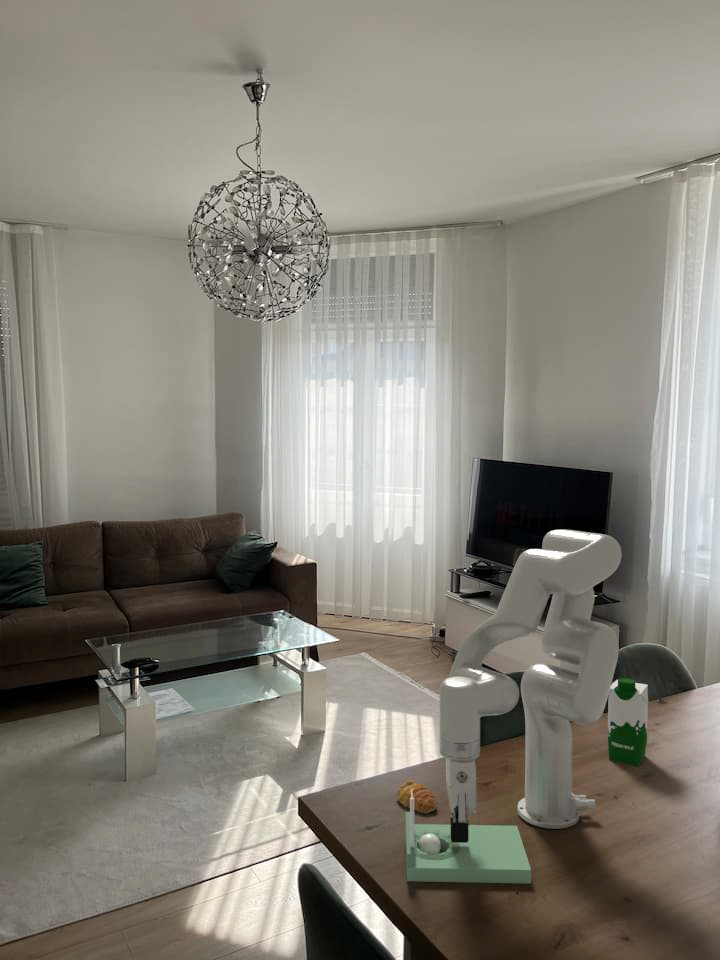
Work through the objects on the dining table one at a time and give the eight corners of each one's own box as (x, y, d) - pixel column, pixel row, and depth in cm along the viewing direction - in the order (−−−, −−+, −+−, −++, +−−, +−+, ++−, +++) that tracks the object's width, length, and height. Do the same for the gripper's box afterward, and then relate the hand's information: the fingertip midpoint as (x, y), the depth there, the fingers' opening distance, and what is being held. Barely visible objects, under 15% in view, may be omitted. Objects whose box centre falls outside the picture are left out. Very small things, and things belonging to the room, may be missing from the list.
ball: (414, 848, 144) (435, 856, 144) (416, 857, 140) (437, 865, 140) (421, 827, 144) (442, 834, 144) (423, 834, 140) (445, 842, 140)
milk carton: (604, 760, 183) (605, 680, 182) (613, 747, 191) (614, 669, 190) (641, 769, 179) (643, 686, 177) (649, 755, 186) (651, 675, 185)
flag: (413, 860, 141) (413, 788, 140) (414, 874, 137) (414, 799, 136) (409, 860, 141) (409, 788, 140) (410, 874, 137) (409, 799, 136)
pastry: (445, 809, 161) (445, 792, 161) (420, 819, 157) (420, 801, 157) (416, 792, 168) (416, 776, 168) (392, 801, 164) (392, 784, 164)
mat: (517, 838, 149) (517, 813, 149) (531, 883, 134) (531, 856, 134) (405, 836, 150) (405, 811, 149) (407, 881, 135) (406, 854, 135)
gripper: (484, 762, 133) (484, 863, 134) (475, 729, 148) (475, 820, 149) (442, 762, 133) (442, 862, 134) (437, 729, 148) (437, 819, 149)
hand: (459, 839), depth 142 cm, fingers closed
